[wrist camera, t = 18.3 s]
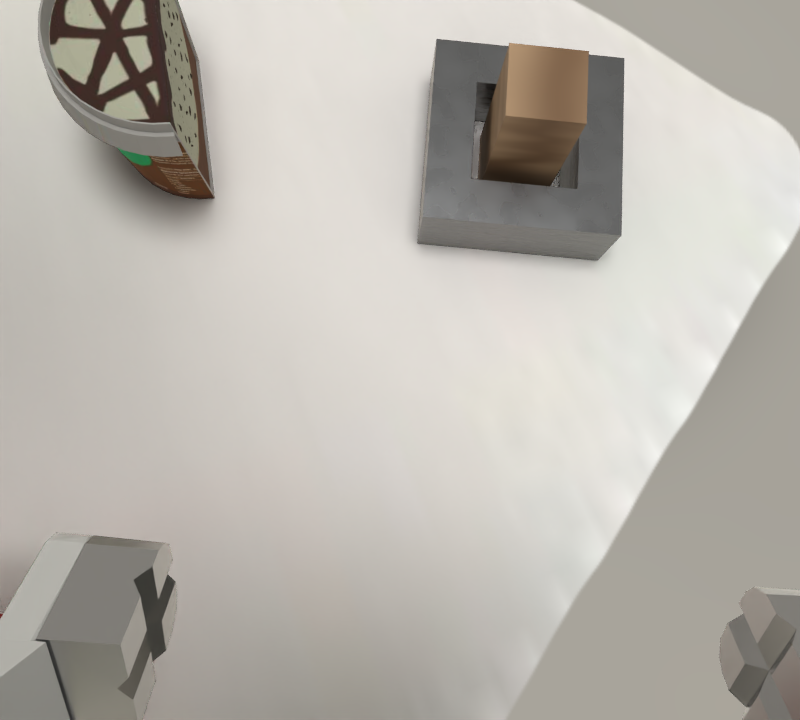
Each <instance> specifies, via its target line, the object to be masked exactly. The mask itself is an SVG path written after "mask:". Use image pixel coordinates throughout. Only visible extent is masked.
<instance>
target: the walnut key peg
mask: <svg viewBox="0 0 800 720" xmlns="http://www.w3.org/2000/svg"><path fill="white" fill-rule="evenodd" d="M588 58H589V51H581V50H572V49H562V48H552V47H543V46H533V45H523V44H513V43H509V46H508V50H507V53H506V56H505V59H504V63H503V66H502V69H501V72H500V75H499V79H498V82H497V85H496V88H495V91H494V95H493V98H492V101H491V104H490V107H489V111H488V114H487V117H486V120H485V123H484V127H483V130H482V133H481V136H480V152H479V168H478V179H479V180H489V181H499V182H510V183H520V184H530V185H541V186H551V184H552V182H553V181H554V179H555V177H556V175H557V174H558V172H559V170H560V169H561V167H562V165H563V163H564V162H565V160H566V158H567V157H568V155H569V153H570V151H571V150H572V148H573V146H574V145H575V143H576V141H577V139H578V138H579V136H580V134H581V132H582V131H583V129H584V127H585V126H586V124H587V94H588Z"/></svg>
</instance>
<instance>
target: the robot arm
mask: <svg viewBox="0 0 800 720" xmlns="http://www.w3.org/2000/svg"><path fill="white" fill-rule="evenodd" d="M172 561H173V559H172V554H171V549H170V544H167V543H161V542H151V541H141V540H132V539H122V538H112V537H103V536H91V535H79V534H68V533H57V532H56V533H55V534H54V535H53V536H52V537H51V538H50V539H49V540H47V541H46V542H45V544H44V546H43V547H42V549H41V551H40V552H39V554H38V556H37V557H36V559H35V561H34V562H33V564H32V566H31V568H30V569H29V571H28V573H27V574H26V576H25V578H24V579H23V581H22V583H21V585H20V586H19V588H18V590H17V591H16V593H15V595H14V596H13V598H12V600H11V601H10V603H9V605H8V607H7V608H6V610H5V612H4V613H3V615H2V617H1V618H0V720H142V719H143V717H144V714H145V711H146V708H147V705H148V702H149V699H150V696H151V693H152V690H153V687H154V685H155V682H156V679H155V673H154V667H153V661H154V660H155V659H156V658H158V657H159V656H160V655H161V654H162V653H163V652H165V651H166V649H167V646H168V643H169V640H170V637H171V633H172V630H173V625H174V620H175V614H176V609H177V589H176V582H175V581H174V580H173V579H172V578H171V577H170V576H169V575H168V572H169V569H170V566H171V563H172ZM739 605H740V607H741V609H742V611H743V614H742V615H741V616H739V617H738V618H736V619H734V620H732V621H730V622H729V623H727V625H726V628H725V630H724V632H723V634H722V636H721V638H720V653H719V658H720V663H721V669H722V674H723V676H724V679H725V682H726V684H727V687H728V690H729V691H730V692H731V693H732V694H733V695H734V696H735V697H736V698H737V699H738V700H739V701H740V702H741V703H742V704H743V705H745V706H746V708H745V712H744V715H743V718H742V720H800V590H797V589H781V588H766V587H753V588H751V589H749V590H748V591H746V592H745V594H744V595H743V597H742V599H741V600H740V602H739Z"/></svg>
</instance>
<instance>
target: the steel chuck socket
mask: <svg viewBox="0 0 800 720" xmlns="http://www.w3.org/2000/svg"><path fill="white" fill-rule="evenodd" d="M507 50H508V46H500V45H490V44H481V43H471V42H461V41H451V40H442V39H437V40H436V47H435V53H434V60H433V67H432V73H431V80H430V92H429V104H428V117H427V129H426V142H425V154H424V167H423V179H422V192H421V204H420V217H419V229H418V242H417V243H419V244H430V245H440V246H451V247H462V248H472V249H483V250H494V251H504V252H515V253H526V254H536V255H547V256H557V257H568V258H579V259H589V260H598V259H599V258H600V257H601V256H602V255H603V254H604V253H605V252H606V251H607V250H608V249H609V248H610V247H611V246H612V245H613V244H614V243H615V242H616V241H617V239H618V238H619V237H620V236H621V225H622V164H623V103H624V58H617V57H607V56H597V55H589V58H588V94H587V124H586V126H585V127H584V129H583V131H582V132H581V134H580V136H579V138H578V139H577V141H576V143H575V145H574V146H573V148H572V150H571V151H570V153H569V155H568V157H567V158H566V160H565V162H564V163H563V165H562V167H561V169H560V184H559V187H551V186H541V185H530V184H520V183H510V182H499V181H489V180H479V179H471V168H472V153H473V137H474V122H475V121H485V120H486V117H487V114H488V111H489V107H490V104H491V101H492V98H493V95H494V91H495V88H496V85H497V82H498V79H499V75H500V72H501V69H502V66H503V63H504V59H505V56H506V53H507Z"/></svg>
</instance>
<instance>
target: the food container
mask: <svg viewBox="0 0 800 720" xmlns="http://www.w3.org/2000/svg"><path fill="white" fill-rule="evenodd" d="M38 40H39V47H40V53H41V57H42V60H43V63H44V66H45V69H46V71H47V74H48V77H49V80H50V82H51V85H52V88H53V91H54V93H55V94H56V96H57V98H58V100H59V101H60V103H61V105H62V106H63V108H64V109H65V110H66V111H67V113H68V114H69V115H70V116H71V117H72V118H73V120H74V121H75V122H76V123H78V124H79V125H80V126H81V127H82V128H84V129H85V130H86V131H87V132H88V133H90V134H91V135H93V136H95V137H96V138H98V139H100V140H101V141H103V142H105V143H107V144H109V145H112V146H114V147H117V148H118V149H119V150H120V152H121V153H122V154H123V155H124V156H125V157H126V158H127V159H128V160H129V161H130V162H131V164H132V165H133V166H134V167H135V168H136V169H137V170H138V171H139V172H140V173H141V174H142V175H143V177H145V178H146V179H147V180H148V181H149V182H151V183H152V184H153V185H155V186H157V187H158V188H160V189H162V190H164V191H166V192H169V193H171V194H174V195H177V196H182V197H186V198H195V199H207V198H214V189H213V180H212V172H211V163H210V154H209V146H208V137H207V128H206V120H205V111H204V102H203V94H202V85H201V76H200V68H199V60H198V57H197V54H196V51H195V49H194V46H193V43H192V40H191V37H190V34H189V31H188V28H187V25H186V23H185V20H184V17H183V14H182V11H181V8H180V5H179V2H178V0H41V3H40V8H39V16H38Z"/></svg>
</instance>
